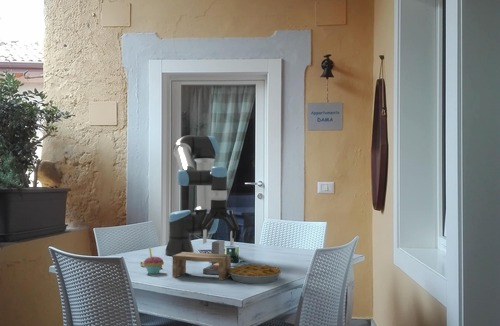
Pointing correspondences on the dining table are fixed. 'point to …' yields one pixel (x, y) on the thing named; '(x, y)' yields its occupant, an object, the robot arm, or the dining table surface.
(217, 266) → the block
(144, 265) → the plain stick
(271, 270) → the pie
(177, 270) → the shelf
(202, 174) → the robot arm
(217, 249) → the hook tool
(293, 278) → the dining table surface
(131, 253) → the dining table surface
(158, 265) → the cupcake
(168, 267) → the dining table surface
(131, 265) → the dining table surface
